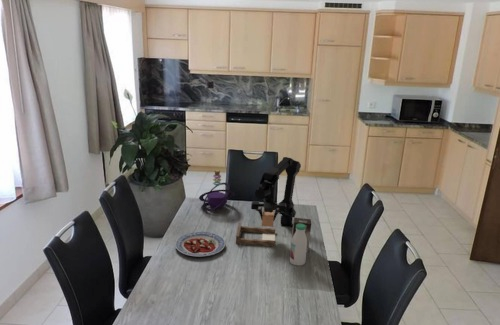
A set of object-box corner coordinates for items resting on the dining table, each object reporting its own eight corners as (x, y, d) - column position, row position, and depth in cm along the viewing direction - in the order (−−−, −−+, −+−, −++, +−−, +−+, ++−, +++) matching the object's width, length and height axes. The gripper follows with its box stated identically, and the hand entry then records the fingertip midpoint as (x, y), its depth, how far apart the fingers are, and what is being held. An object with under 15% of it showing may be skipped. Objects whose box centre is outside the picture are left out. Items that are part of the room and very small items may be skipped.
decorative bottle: (229, 200, 262) (230, 165, 254) (237, 212, 242) (238, 175, 235) (197, 202, 255) (197, 166, 248) (201, 215, 236) (202, 176, 229)
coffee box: (290, 250, 200) (293, 222, 195) (290, 244, 206) (293, 217, 201) (308, 251, 199) (311, 223, 195) (308, 246, 205) (310, 218, 201)
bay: (274, 232, 218) (275, 225, 217) (275, 246, 203) (275, 238, 202) (238, 229, 219) (238, 222, 218) (235, 243, 204) (236, 235, 203)
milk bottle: (306, 259, 192) (310, 223, 186) (303, 267, 185) (307, 230, 179) (291, 256, 194) (294, 220, 188) (287, 264, 187) (291, 226, 181)
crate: (273, 220, 212) (273, 210, 210) (273, 226, 204) (273, 216, 203) (262, 219, 212) (263, 209, 211) (261, 226, 205) (262, 215, 203)
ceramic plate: (180, 263, 183) (180, 258, 182) (171, 238, 206) (171, 233, 205) (231, 255, 192) (231, 250, 191) (217, 232, 215) (217, 227, 214)
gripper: (251, 198, 196) (249, 225, 201) (287, 201, 195) (285, 228, 200) (252, 190, 207) (251, 216, 211) (287, 193, 206) (284, 219, 210)
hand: (267, 220), depth 208 cm, fingers closed on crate, 6 cm apart
